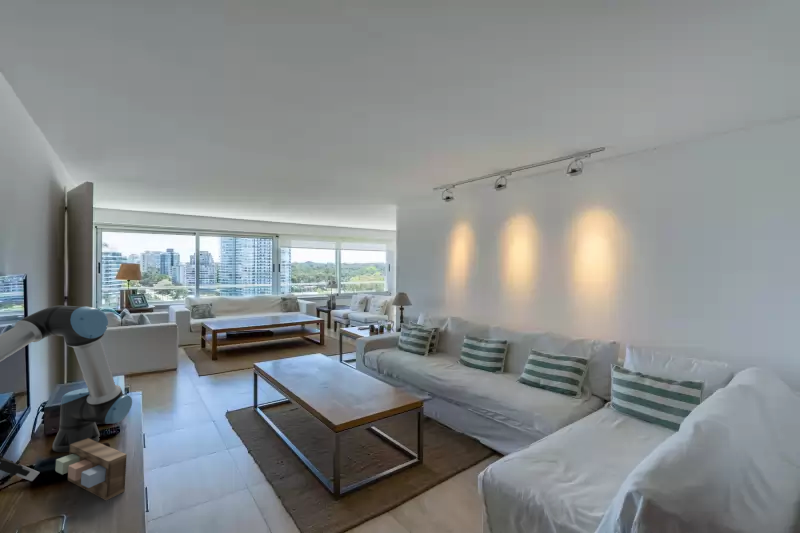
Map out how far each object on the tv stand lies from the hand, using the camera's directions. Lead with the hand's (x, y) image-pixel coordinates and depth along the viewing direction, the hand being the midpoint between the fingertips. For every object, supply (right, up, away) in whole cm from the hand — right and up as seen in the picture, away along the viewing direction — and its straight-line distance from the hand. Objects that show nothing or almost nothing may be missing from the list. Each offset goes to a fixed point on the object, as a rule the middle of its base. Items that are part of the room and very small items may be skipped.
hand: (34, 476), depth 118 cm
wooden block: (+12, -9, +9) cm, 18 cm away
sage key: (+3, -2, +8) cm, 9 cm away
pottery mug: (0, -9, +23) cm, 25 cm away
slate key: (+18, -3, +2) cm, 18 cm away
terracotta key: (+10, -3, +5) cm, 12 cm away
